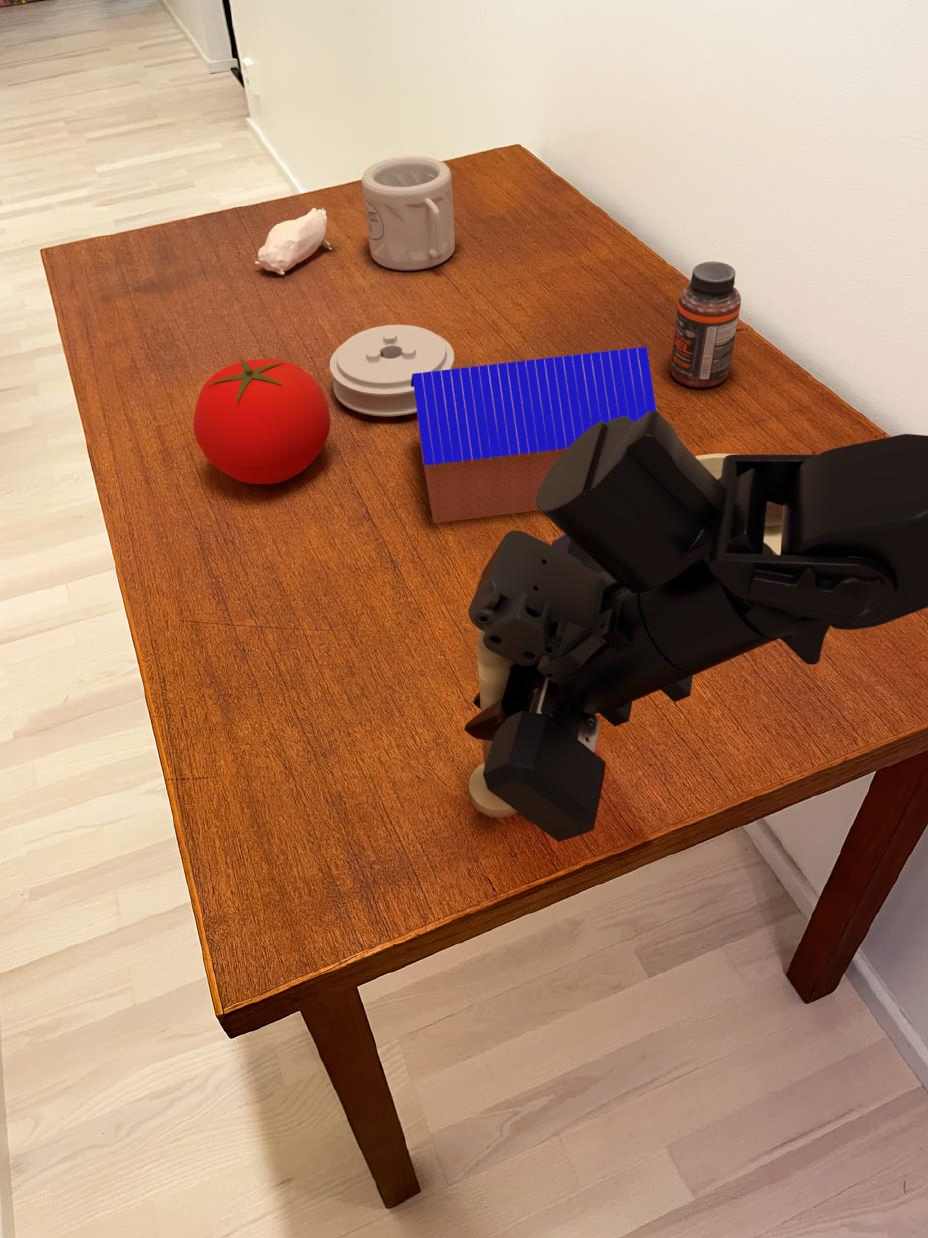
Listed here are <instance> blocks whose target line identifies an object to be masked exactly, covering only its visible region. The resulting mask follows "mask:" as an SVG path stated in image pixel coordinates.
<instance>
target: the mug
mask: <svg viewBox="0 0 928 1238" xmlns="http://www.w3.org/2000/svg"><path fill="white" fill-rule="evenodd" d="M452 182H453V180H452V171H451V169H450V167H449V166H448V165H447V164H446V163H445V162H443V161H441V160H438V159H436V158H434V157H433V158H432V157H428V156H427V157H426V156H419V155H418V156H416V155H409V156H408V155H407V156H398V157H392V158H388V159H384V160H381V161H378V162H376V163H374V164H372V165H370V166H369V167H368V168H366V169H365V170H364V172H363V174H362V177H361V188H362V193H363V201H364V208H365V217H366V225H367V233H368V241H369V250H370V255H371V259H373V260H374V261H375V262H376V263H377V264H379V265H380V266H381V267H384V268H386V269H390V270H394V271H395V270H396V271H403V272H404V271H406V272H407V271H408V272H409V271H410V272H411V271H421V270H427V269H431V268H433V267H437V266H439V265H441V264H443V263H444V262H446V261H447V260H448V259H450V257H451V256H452V255H453V254H454V252H455V249H456V235H455V218H454V217H455V215H454V200H453V183H452Z"/></svg>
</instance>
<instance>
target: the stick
mask: <svg viewBox="0 0 928 1238" xmlns="http://www.w3.org/2000/svg"><path fill="white" fill-rule="evenodd" d="M484 634H485V632H484V631H482V630H481V629H478V632H477V634H476V653H477V668H478V671H477V672H478V685H479V686H478V688H479V692H480V705H481V709H480V713H481V712H483V711H484V710H486V709H487V708H489V707H490V706H492V705H493V704H495V703H496V702H498V701H500V700H501V698H502V695H503V692H504V689H505V685H506V682H507V679H508V675H509V672H510V660H509V659H506V658H504V657H502V656H500V655H498V654H496V653H494V652H492V651H490V650H488V649H487V648H486V647H485V645H484V643H483V637H484ZM491 745H492V741H487V740H482V753H483V763H481V764H479V765H478V766H477V767H476V768H475V769H474V770H473V771H472V772H471V775H469V776H470V777H469V780H468V793H469V800H470V802H471V804H472V805H473V807H474V808H475V809H476V810H477V811H478V812H480V813H481V814H482V815H485V816H487V817H491V818H495V819H496V818H497V819H498V818H499V819H501V818H508V817H511V816H514V815H516V814H517V813H518V812H517V811H516V810H515V809H513V808H512V807H511V806H509V805H508V804H507V803H505V802H504V801H503V800H501V799H500V798H499V797H497V796H496V795H495V794H493V793H492V792H491V791H489V790H488V788H487V785H486V782H485V780H484V777H483V771H484V768H485V765H486V761H487V758H488V755H489V751H490V748H491Z"/></svg>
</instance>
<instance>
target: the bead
mask: <svg viewBox="0 0 928 1238" xmlns="http://www.w3.org/2000/svg"><path fill="white" fill-rule="evenodd" d="M782 521H783V506H782V505H778V504H775V503H771V502H768V501H767V508H766V521H765V527H767V528H775V527H779V526H781V525H782Z"/></svg>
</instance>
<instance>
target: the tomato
mask: <svg viewBox="0 0 928 1238" xmlns="http://www.w3.org/2000/svg"><path fill="white" fill-rule="evenodd" d="M330 431H331V414H330V406H329V402H328V400H327V398H326V395H325V392H324V390H323V389H322V387H321V386H320V385H319V383H318V382H317V381H316V379H315V378H313V376H312V375H311V374H309V373H308V372H307V371H305V369H303V368H302V367H301V366H299V365H297V364H295V363H292V362H290V361H286V360H282V359H275V358H274V359H273V358H258V359H257V358H256V359H247V360H244V359H243V358H242V357H240V361H238V362H235V363H232V364H230V365H227V366H225V367H223V368H221V369H220V370H218V371H216V372H215V373H214V374H213V375H212V376H211V377H210V378H208V379H207V381H206V382H205V383H204V385H203V386H202V387H201V389H200V392H199V396H198V398H197V400H196V404H195V409H194V413H193V434H194V437H195V440H196V443H197V445H198V446H199V448H200V449H201V451H202V453H203V455H204V456H205V458H206V459H207V460H208V461H209V462H210V463H211V465H213V466H214V467H215V468H217V470H219V471H220V472H222V473H224V474H225V475H227V476H229V477H231V478H233V479H234V480H237V481H238V482H239V481H240V482H242V483H247V484H251V485H275V484H279V483H282V482H285V481H288V480H290V479H292V478H294V477H295V476H298V475H299V474H301V472H303V471H304V470H306V469H307V468H308V467H309V466H310V465H311V464H312V462H313V461H315V459H316V458H317V457H318V455H319V454H320V453H321V452H322V450H323V448H324V446H325V444H326V443H327V440H328V437H329V435H330Z"/></svg>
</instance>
